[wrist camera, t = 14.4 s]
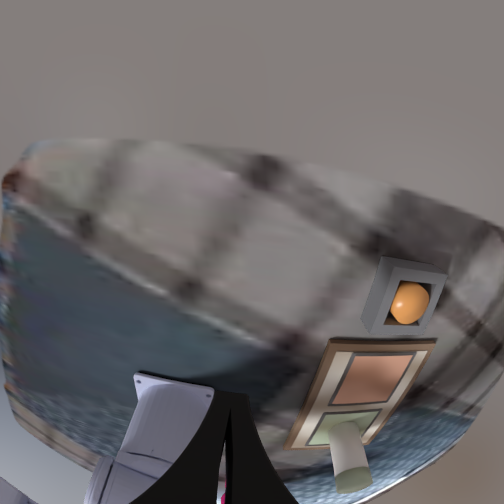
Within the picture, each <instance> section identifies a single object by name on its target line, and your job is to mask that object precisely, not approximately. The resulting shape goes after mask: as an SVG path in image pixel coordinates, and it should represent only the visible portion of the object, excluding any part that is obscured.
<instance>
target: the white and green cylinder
mask: <svg viewBox="0 0 504 504" xmlns="http://www.w3.org/2000/svg"><path fill="white" fill-rule="evenodd" d="M328 438H329V443H330V449H331V455H332V461H333V467H334V473H335V483H336V489H337V493H339V494H347V493H352V492H356V491H359V490H362V489H365V488H367V487H368V486H370V485H371V484H372V483H373V481H372V477H371V473H370V469H369V466H368V462H367V458H366V455H365V451H364V447H363V443H362V439H361V436H360V432H359V428H358V425H357V424H356V423H355V422H343V423H340V424H337V425H335V426H333V427H332V428H331V429H330V430H329V431H328Z"/></svg>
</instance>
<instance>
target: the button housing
mask: <svg viewBox="0 0 504 504" xmlns="http://www.w3.org/2000/svg"><path fill="white" fill-rule="evenodd" d="M446 278H447V274H446V273H445V272H443V271H442V270H440V269H439V268H438V267H436V266H435V265H433V264H427V263H422V262H416V261H410V260H404V259H398V258H392V257H386V256H381V259H380V262H379V266H378V269H377V272H376V276H375V279H374V282H373V285H372V288H371V291H370V294H369V297H368V300H367V303H366V306H365V308H364V311H363V314H362V317H361V320H362V322H363V324H364V326H365V327H366V329H367V331H368V332H369V334H383V335H423V333H424V331H425V329H426V327H427V325H428V323H429V320H430V318H431V316H432V314H433V311H434V309H435V307H436V304H437V302H438V299H439V297H440V294H441V292H442V289H443V286H444V284H445V281H446ZM400 280H405V281H413V282H420V283H419V285H421V286H422V287H423V288H424V289H425V290H426V291H427V293H428V295H429V303H428V306H427V309H426V311H425V312H424V314H423V315H422V316H421V317H420V318H419V319H418V320H416V321H415V322H412V323H410V324H402V323H400V322H398V321H397V319H396V318H395V317H394V316H393V314H392V313H391V312H389V309H390V307H391V304H392V301H393V299H394V296H395V293H396V290H397V288H398V285H399V282H400Z"/></svg>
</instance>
